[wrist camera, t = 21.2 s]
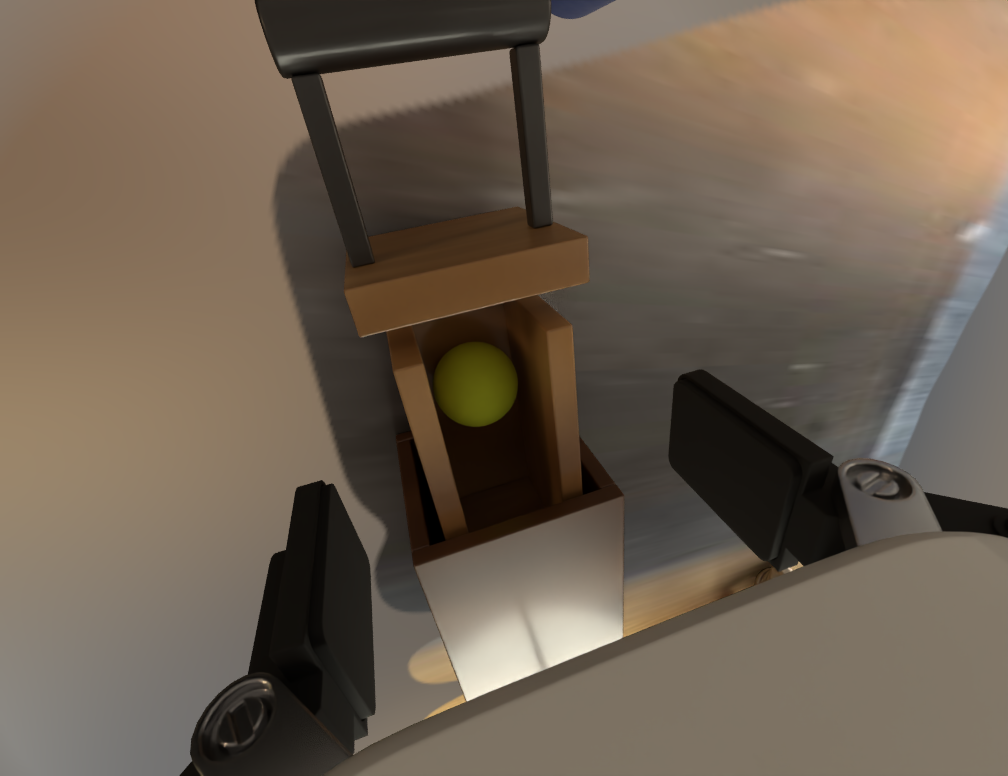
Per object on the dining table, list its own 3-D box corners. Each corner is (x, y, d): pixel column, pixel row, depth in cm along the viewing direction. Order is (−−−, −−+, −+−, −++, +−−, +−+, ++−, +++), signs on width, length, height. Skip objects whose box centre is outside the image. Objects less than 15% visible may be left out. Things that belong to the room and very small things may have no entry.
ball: (445, 317, 16) (455, 356, 13) (520, 341, 17) (542, 381, 14) (419, 386, 17) (423, 434, 14) (490, 404, 18) (505, 451, 16)
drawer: (278, 29, 12) (229, -42, 7) (495, 3, 13) (577, -74, 8) (430, 503, 21) (452, 608, 16) (547, 466, 22) (600, 555, 17)
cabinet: (395, 434, 20) (413, 566, 14) (546, 391, 21) (624, 495, 15) (453, 607, 27) (482, 745, 21) (564, 567, 28) (623, 686, 22)
